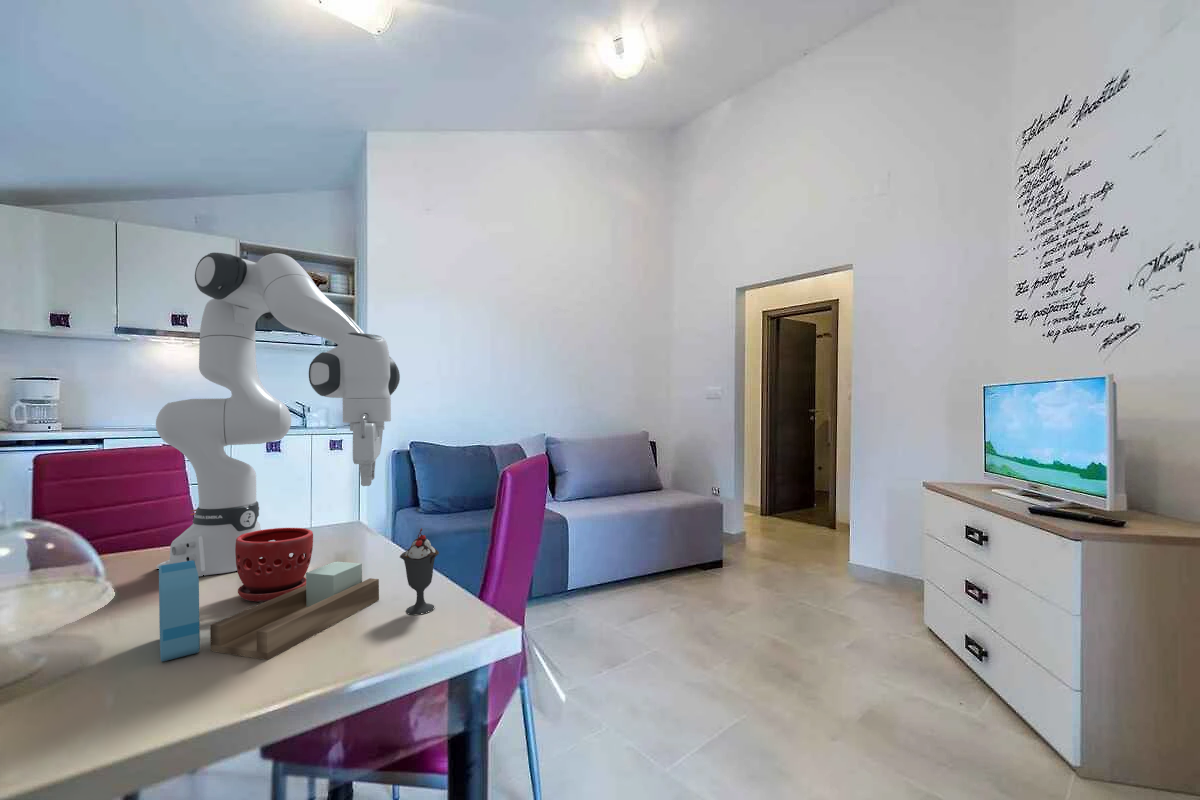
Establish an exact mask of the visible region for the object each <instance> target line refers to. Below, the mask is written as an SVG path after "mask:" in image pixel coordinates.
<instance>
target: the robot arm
mask: <svg viewBox="0 0 1200 800" xmlns="http://www.w3.org/2000/svg"><path fill="white" fill-rule="evenodd" d="M194 281H195V284H196V287H197V289H198V290H199V291H200V292H201V293H202V294H204V295H206V296H207V297H210V298H211V299H210V300H208V302H207V303H206V304H205V307H204V309H203V314H202V317H201V320H200V329H199V331H200V332H199V348H198V349H199V351H198V353H199V354H198V370H199V372H200V374H201V375H202V376H203V378H204V379H207V380H208V381H209V382H212V383H213V384H216V385H218V386H221V387H224V388H226V389H228V390H229V391H230V392H231V395H230V397H227V398H190V399H182V400H177V401H172V402H168V403H167V404H165V405H164V406H162V408H161V409H160V410H159V412H158V414H157V416H156V419H155V428H156V431H157V434H158V435H159V437H160V438H161V439H162V440H163V441H164V442H165V443H166V444H167V445H169V446H171V447H173V448H174V449H176V450H177V451H179V452H180V453H181V454H182V455H184V457H186V459H187V460H188V461H189V462H190V464H191V466H192V467H193V469H194V472H195V477H196V481H197V493H198V507H197V508H195V509H191V510H189V512H191V513H190V514H189V515H190V516H193V519H192V524H191V525H190V526H189V527H188V528H187V529H185V530H184V531H183V532H182V533H181V534H179V536H177V537H176V538H175V539H174V540H172V542H171V544H170V548H169V559H168V560H165V561H163V562H160V563H158V564H156V567H155V568H158V569H159V566H161V565H167V564H173V563H179V562H186V561H192V560H193V561H194V562H195V565H196V568H197V572H198V577H203V575H204V576H209V575H210V576H211V575H217V574H227V573H232V572H236V571H237V566H236V555H235V546H236V539H237V537H239V536H240V535H242V534H245V533H249V532H254V531H259V530H262V527H261V523H260V522H259V521H258V517H259V516H260V506H259V502H258V501H257V473H256V471H255V469H254V467H253V466H252V465H250V464H249V463H247V462H244V461H242V460H239V459H238V458H237V459H236V458H233V457H231V456H229V455H228V454H227V453H226V452H225V447H227V446H237V445H238V446H239V445H261V444H266V443H267V444H268V443H271V442H275V441H279V440H282V439H283V438H284V437H285V436H286V435H287V434H288V432H289V431H290V428H291V426H292V415H291V413H290V410H289V408H288V406H287V405H286V404H285V403H284V402H283V401H281V400H279V399H278V398H276V397H275V396H274V395H273V394H271V393H270V392H269V391H268V390H267V389H266V388H265V386H264V385H263V383H262V381H261V379H260V376H259V373H258V369H257V368H258V367H257V355H256V352H257V351H256V345H257V344H256V342H257V341H256V325H257V324H256V323H257V321H258V319H259V318H261V316H262V318H264V319H265V320H267V321H272V320H274V319H276V320H277V321H278V322H279V323H280V324H281V325H283V326H284V327H285V328H288V329H290V330H294V331H297V332H302V333H305V334H309V335H313V336H317V337H319V338H323V339H325V340H329V341H331V342H332V343H335V344H336V345H337V346H335V347H334V348H332V349H330V350H328V351H325V352H320V353H319V354H317V355H316V356H315V357H314V358H313V359H312V361H311V362H310V364H309V366H308V367H309V368H308V380H309V383H310V387H312V389H313V391H314V392H315V393H317V394H318V395H319V396H321V397H325V398H332V399H334V398H335V399H339V398H340V399H342V422H343V423H344V424H345V423H349V430H350V431H351V432H352V461H353V464H355V465H359V466H358V467H359V475H360V485H361V486H362V487H370V486H371V485H372V481H373V480H374V479H375V476H376V460H377V459H378V457H379V456H380V454H381V449H382V441H383V431H384V430H385V423H386V422H391V421H392V413H391V412H392V411H391V410H392V409H391V408H392V407H391V404H392V403H391V402H392V401H391V399H392V397H391V395H392V394H393V393H395V391H396V390H397V389H398V386H399V383H400V378H401V375H400V370H399V367H398V365H397V364H396V362H395V360H394V359H393V358H392V357H391V356H390V352H389V346H388V344H387V343H388V342H387V340H386V339H385V338H384V337H383V336H381V335H377V334H372V333H365V332H364V331H363V329H361V328H360V326H359V325H358V324H357V322H356V321H355V320H353V319H352V317H350V316H349V315H348V314H347V313H346V312H345V311H343V309H341V308H340V307H338V306H337V305H336V304H335V303H333V302H332V301H331V300H330V299H329V297H327V296H326V295H325V294H324V293H323V292H322V291H321V289H320V288H319V287H318V286H317V285H316V283H315V281H314V280H313V279H312V277H311V276H310V275H309V274H308V272H307V270H305V268H303V267H302V266H301V265H300V264H299V262H297V260H295V259H294V258H293V257H291V256H290V255H287V254H284V253H277V252H273V253H270V254H266V255H264V256H263V257H261V258H259V260H257V262H256V261H255V262H254V261H251V260H248V259H244V258H242V257H240V256H237V255H233V254H230V253H225V252H210V253H208V254H206V255H204V256H202V257H201V259H199V261H198V263H197V264H196V268H195V271H194ZM350 431H349V432H350ZM192 512H193V513H192ZM261 558H263V557H261ZM261 558H260V559H261ZM237 572H238V571H237Z"/></svg>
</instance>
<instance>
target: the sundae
mask: <svg viewBox="0 0 1200 800" xmlns="http://www.w3.org/2000/svg"><path fill="white" fill-rule="evenodd" d="M422 531H423V528H420V530H419V532H418V535H417V538H416V539H414V540H413V541H412V543H411V545H410V547H409V548H408V549H407V550H405V551H404V552H402V553H401V554H400V555H399V558H400V559H401V560H403V561H404V566H405V573H406V579H407V585H408V586H409V588H411V589H412V590H414V591H415V593H416V601H415V604H414V605H411V606H409V607H407V608H406V610H405V613H407V614H408V613H409V614H408V615H411V614H421V613H426V612H428V611H431V610H432V609H433V608H434V606H435V605H434V604H432V603H427V602H426V601H425V590H426V589H427V588H429V586H430V584H431V583H432V580H433V575H434V566H435V565H434V564H435V560H436V557H437V556H438V555H440V552H439V550H438V549H437V548H435V547H434V546H432V544H431V541H430V540H429V539H428V538H427V537H426V535H424V534H422ZM434 609H435V608H434ZM432 611H433V610H432ZM432 611H431V612H432ZM426 614H427V613H426ZM421 615H422V614H421Z"/></svg>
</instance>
